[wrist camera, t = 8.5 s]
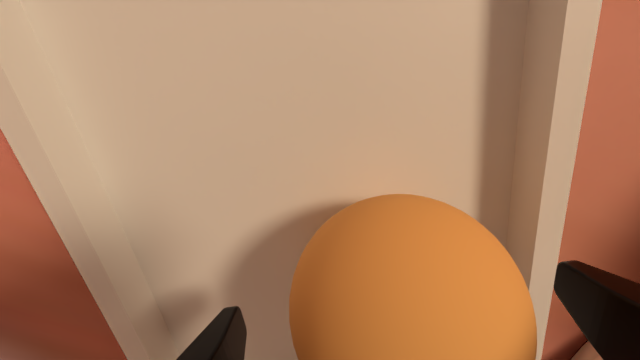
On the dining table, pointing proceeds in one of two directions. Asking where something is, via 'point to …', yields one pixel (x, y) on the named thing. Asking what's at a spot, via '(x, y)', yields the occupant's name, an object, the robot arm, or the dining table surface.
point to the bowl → (587, 353)
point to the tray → (283, 139)
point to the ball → (409, 287)
